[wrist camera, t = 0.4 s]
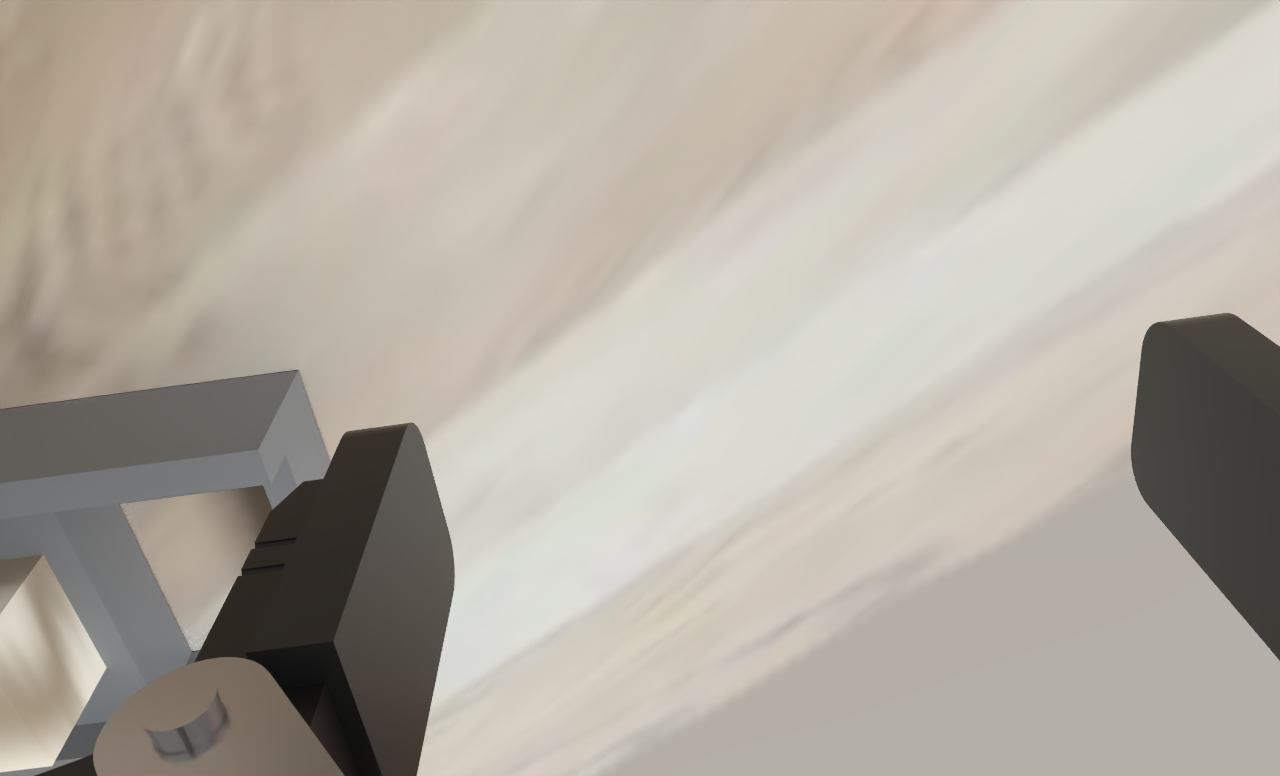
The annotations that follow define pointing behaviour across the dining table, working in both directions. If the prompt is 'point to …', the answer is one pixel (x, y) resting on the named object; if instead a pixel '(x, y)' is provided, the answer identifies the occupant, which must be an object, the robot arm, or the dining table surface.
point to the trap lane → (130, 472)
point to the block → (40, 665)
